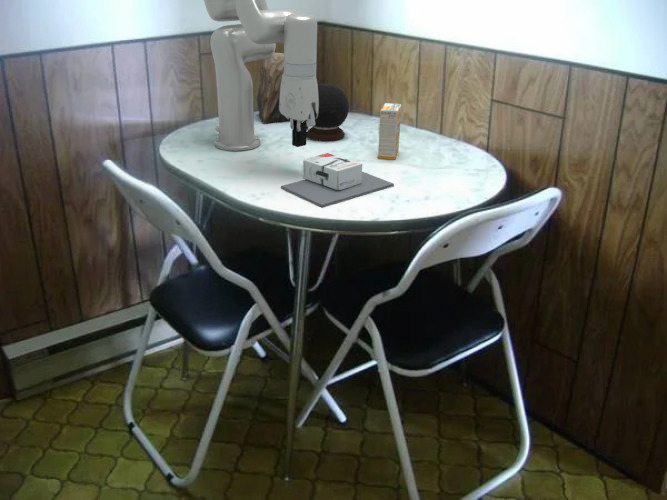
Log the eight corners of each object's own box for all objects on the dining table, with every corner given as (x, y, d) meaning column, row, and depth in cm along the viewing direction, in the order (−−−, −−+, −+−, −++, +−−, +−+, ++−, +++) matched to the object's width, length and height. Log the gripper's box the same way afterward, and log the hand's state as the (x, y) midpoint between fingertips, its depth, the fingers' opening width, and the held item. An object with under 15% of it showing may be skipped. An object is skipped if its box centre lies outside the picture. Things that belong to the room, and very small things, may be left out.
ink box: (327, 151, 169) (363, 163, 162) (327, 171, 171) (362, 183, 164) (302, 158, 164) (338, 171, 156) (302, 178, 166) (337, 191, 158)
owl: (256, 114, 222) (254, 49, 214) (295, 112, 225) (294, 49, 216) (262, 124, 211) (260, 57, 202) (303, 122, 214) (302, 56, 205)
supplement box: (395, 160, 182) (398, 111, 176) (377, 158, 183) (379, 109, 177) (399, 151, 189) (402, 103, 184) (381, 149, 190) (384, 102, 184)
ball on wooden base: (357, 138, 200) (358, 85, 193) (318, 145, 193) (319, 91, 186) (331, 127, 209) (332, 77, 203) (294, 133, 203) (293, 82, 196)
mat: (280, 188, 161) (280, 185, 161) (351, 169, 174) (351, 167, 174) (321, 207, 151) (321, 204, 151) (393, 186, 164) (393, 183, 164)
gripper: (268, 65, 165) (268, 140, 173) (307, 77, 155) (306, 156, 163) (293, 62, 169) (292, 135, 177) (333, 73, 159) (330, 150, 167)
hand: (299, 145), depth 170 cm, fingers closed
